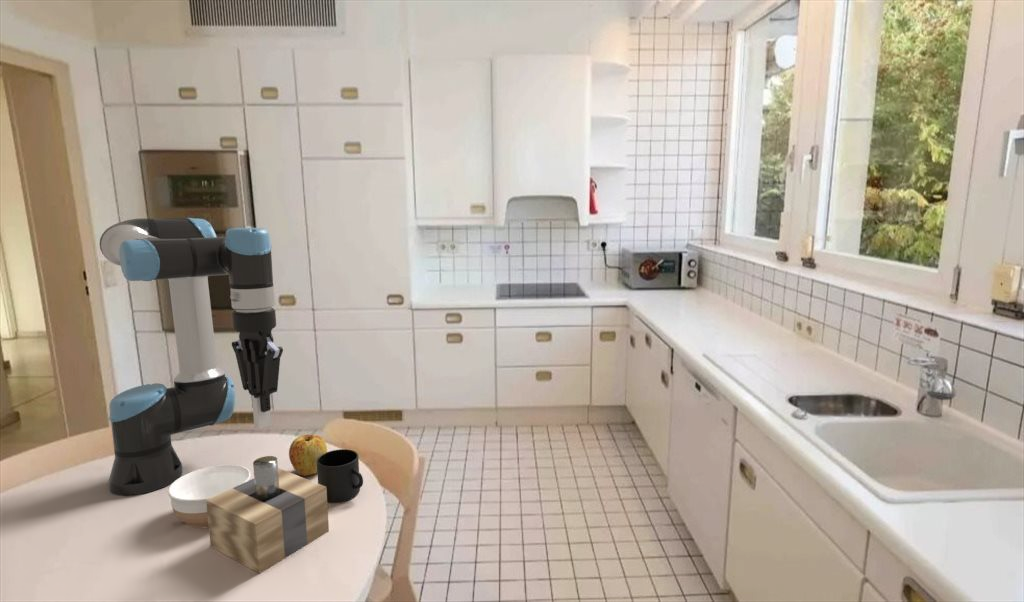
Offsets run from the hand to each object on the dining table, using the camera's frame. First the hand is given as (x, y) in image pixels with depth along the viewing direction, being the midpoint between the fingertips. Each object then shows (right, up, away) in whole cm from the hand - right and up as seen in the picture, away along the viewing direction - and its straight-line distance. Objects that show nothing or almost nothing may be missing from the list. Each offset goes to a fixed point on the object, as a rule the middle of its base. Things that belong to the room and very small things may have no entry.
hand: (262, 425), depth 107 cm
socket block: (0, -24, +4) cm, 24 cm away
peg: (0, -16, +3) cm, 16 cm away
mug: (+9, -21, +21) cm, 32 cm away
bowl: (-17, -23, +13) cm, 31 cm away
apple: (-3, -20, +32) cm, 38 cm away
